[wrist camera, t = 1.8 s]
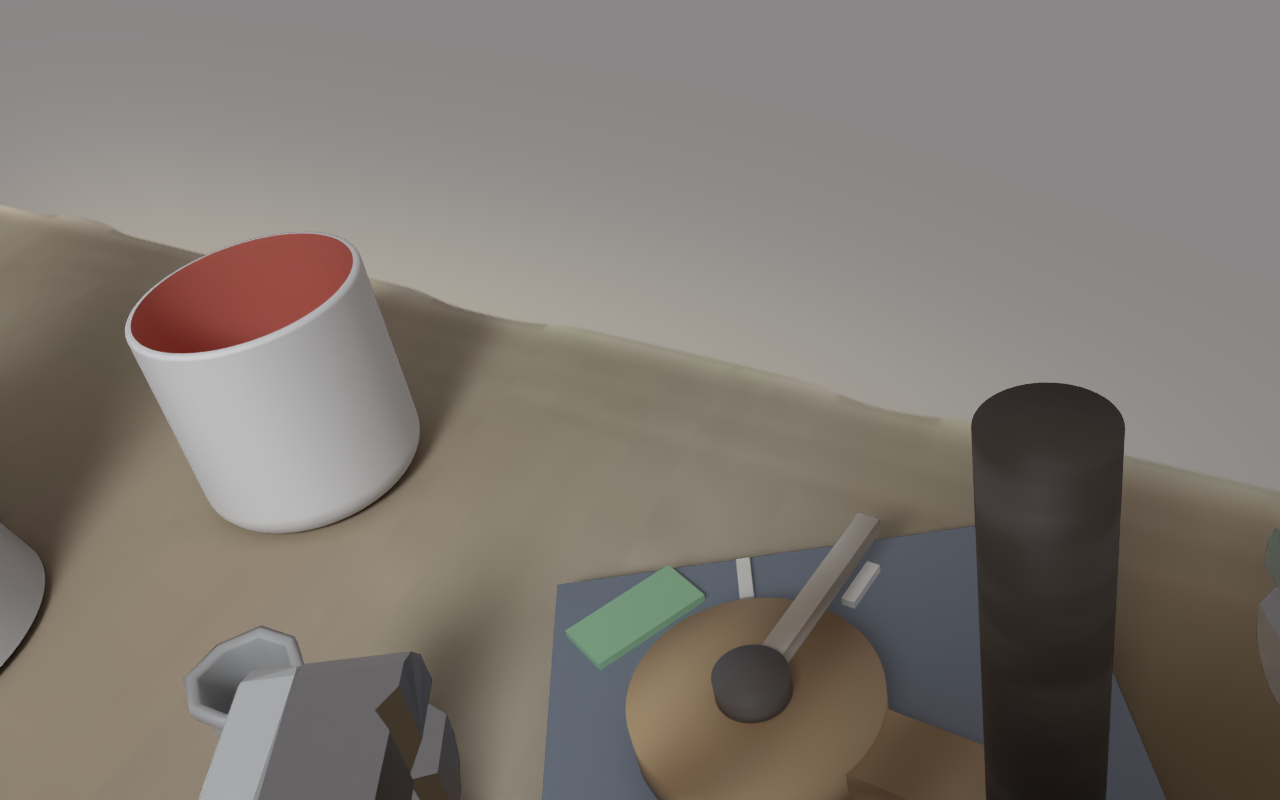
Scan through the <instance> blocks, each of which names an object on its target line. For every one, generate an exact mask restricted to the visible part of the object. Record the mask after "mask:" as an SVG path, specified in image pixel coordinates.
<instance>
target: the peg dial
mask: <svg viewBox="0 0 1280 800" xmlns="http://www.w3.org/2000/svg"><path fill="white" fill-rule="evenodd" d="M971 431H972V456H973V481H974V507H975V532H976V557H977V583H978V608H979V633H980V659H981V684H982V709H983V735H984V745H982V744H979V743H977V742H974V741H971V740H969V739H966V738H963V737H961V736H958V735H955V734H953V733H950V732H947V731H945V730H942V729H939V728H937V727H934V726H931V725H929V724H926V723H923V722H921V721H918V720H915V719H913V718H910V717H907V716H905V715H902V714H899V713H897V712H894V711H891V710H889V705H888V695H887V686H886V680H885V674H884V670H883V667H882V664H881V662H880V659H879V657H878V655H877V653H876V652H875V650H874V648H873V646H872V645H871V644H870V643H869V641H868V640H867V639H866V638H865V636H864V635H863V634H862V633H861V632H860V631H858V630H857V629H856V628H855V627H854V626H853V625H852V624H850V623H849V622H847V621H846V620H845V619H843V618H842V617H840V616H838V615H836V614H834V613H832V612H831V611H828V610H826V609H827V608H828V606H829V605H830V603H831V602H832V600H833V599H834V598H835V596H836V595H837V593H838V592H839V591H840V589H841V588H842V586H843V585H844V583H845V582H846V581H847V579H848V578H849V576H850V575H851V573H852V572H853V571H854V569H855V568H856V566H857V565H858V564H859V562H860V561H861V559H862V558H863V556H864V555H865V554H866V552H867V551H868V549H869V548H870V546H871V545H872V544H873V542H874V541H875V539H876V538H877V537H878V535H879V534H880V532H881V528H880V519H879V518H875V517H872V516H868V515H865V514H861V513H858V514H857V515H856V517H855V518H854V519H853V521H852V522H851V523H850V525H849V526H848V527H847V529H846V530H845V532H844V533H843V534H842V536H841V537H840V538H839V540H838V541H837V542H836V544H835V545H834V547H833V548H832V549H831V551H830V552H829V553H828V555H827V556H826V558H825V559H824V560H823V562H822V563H821V564H820V566H819V567H818V568H817V570H816V571H815V573H814V574H813V575H812V577H811V578H810V579H809V581H808V582H807V583H806V585H805V586H804V588H803V589H802V590H801V592H800V593H799V594H798V596H797V597H796V598H795V600H790V599H783V598H751V599H743V600H736V601H732V602H727V603H723V604H720V605H717V606H714V607H710V608H708V609H705V610H703V611H701V612H698V613H696V614H694V615H692V616H690V617H688V618H686V619H685V620H683V621H681V622H680V623H678V624H677V625H675V626H674V627H672V628H671V629H669V630H668V631H667V632H666V633H665V634H663V635H662V636H661V637H660V638H659V639H658V640H657V641H656V642H655V643H654V644H653V645H652V646H651V647H650V648H649V649H648V651H647V652H646V653H645V655H644V656H643V658H642V659H641V660H640V662H639V664H638V666H637V668H636V669H635V671H634V673H633V676H632V678H631V681H630V684H629V687H628V692H627V697H626V721H627V727H628V731H629V734H630V737H631V741H632V744H633V748H634V751H635V754H636V758H637V761H638V764H639V768H640V771H641V774H642V776H643V778H644V780H645V782H646V784H647V785H648V787H649V788H650V790H651V791H652V792H653V794H654V795H655V797H656V798H657V799H658V800H1106V791H1107V771H1108V752H1109V732H1110V712H1111V692H1112V673H1113V653H1114V633H1115V613H1116V594H1117V574H1118V554H1119V534H1120V515H1121V495H1122V475H1123V455H1124V436H1125V425H1124V420H1123V417H1122V415H1121V413H1120V412H1119V411H1118V409H1117V408H1116V407H1115V406H1114V405H1113V404H1112V403H1111V402H1110V401H1109V400H1107V399H1106V398H1104V397H1102V396H1101V395H1099V394H1097V393H1095V392H1092V391H1090V390H1088V389H1085V388H1082V387H1077V386H1073V385H1068V384H1060V383H1033V384H1025V385H1020V386H1016V387H1013V388H1009V389H1006V390H1004V391H1002V392H999V393H997V394H996V395H994V396H992V397H991V398H989V399H988V400H986V401H985V402H984V403H983V404H982V405H981V406H980V407H979V408H978V409H977V411H976V412H975V414H974V416H973V419H972V425H971Z"/></svg>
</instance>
